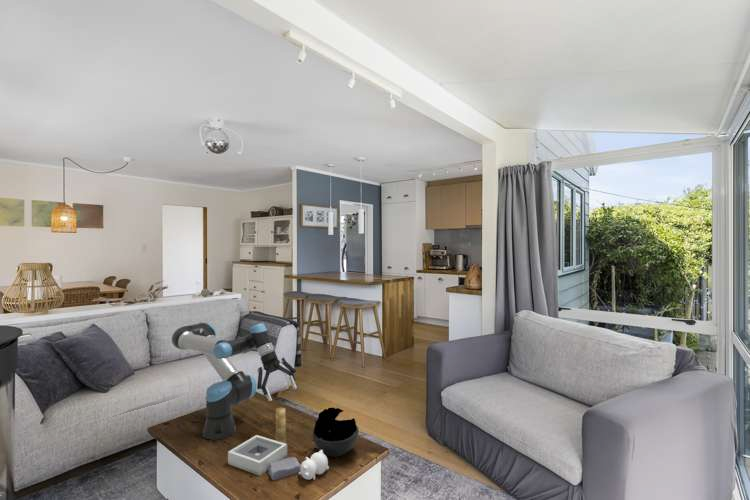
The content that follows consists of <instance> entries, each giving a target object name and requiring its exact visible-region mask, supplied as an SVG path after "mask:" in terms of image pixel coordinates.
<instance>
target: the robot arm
mask: <svg viewBox="0 0 750 500" xmlns="http://www.w3.org/2000/svg"><path fill="white" fill-rule="evenodd" d="M216 330H217V329H216V327H215V326H214V325H213V324H212V323H210V322H199V323H195V324H190V325H184V326H180V327H179V328H177V329H175V331H174V332H173V333H172V335H171V342H172V344H173V346H174V347H175V349H180V350H183V351H187V350H193V351H197V352H201V353H202V354H203V355H204V356H205V358H206V359H207V361H208V362H209V363H210V365H211V366H212V368H213V369H214V370H215V372H216V373H217V374H218V376H219V377H220V378H221V381H218V382H214V383H212V384H211V385H210V386H209V387H208V388H207V389H206V393H205V401H206V402H205V403H206V404H205V405H206V407H205V409H206V410H205V411H206V414H205V416H206V419H205V422H204V426H203V428H202V438H203V437H204V438H203V439H205V438H206V439H205V440H207V439H210V440H209V441H216V440H222V439H225V438H226V439H227V438H228V437H230V436H232V435H234V434H235V432H236V430H237V425H236V421H235V419H234V416H233V407H234V406H236V405H238V404H241V403H243V402H245V401H249V399H252V398H253V397H254V396H255V395H256V393H257V390H262V393H263V396H266V398H267V401H268V402H271V401H273V399H272V396H271V394H270V391H269V388H268V386H267V383H268V379H269V376H270V374H272V373H273V372H276V371H280V372H282V373H284V374H286V375H287V376H288V379H289V381H290V384H291V387H292V389H293V390H295V389H297V388H298V387H297V385H296V378H295V373H296V372H297V369H295V368H294V367H293V366H292V365H291V364H289V362H287V360H286V359H285V357H281V358H280V359H279V358H278V355H277V354H276V353H277V352H276V351H275V349H274V346H273V343H272V341H271V338H270V335H269V332H268V329H267V327H266V325H265V324H264V323H257V324H254V325H253V326H251V327H250V328H249V332H250V333H249V334H247V335H245V336H243V337H242V336H241V337H239V338H235V339H230V340H225V339H220V338H217V331H216ZM255 348H256V350H257V353H258V355H259V357H260V361H261V364H262V367H261V366H260V367H258V368H257V375H258V377H257V381H256V379H255V377H254V376H253V375H251V374H245V373H244V371H243V370H238V369H237V367H236V366H235V364H234V363H233V362H232V361H231V359H230V358H231V357H234V356H237V355H239V354H243V355H244V354H246V353H249V352H251V351H252V350H254V349H255ZM280 363H281V364H282V365H283V366H282V365H280ZM284 366H285V367H284ZM264 371H265V374H264V378H263V372H264Z"/></svg>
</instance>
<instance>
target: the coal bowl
mask: <svg viewBox="0 0 750 500" xmlns="http://www.w3.org/2000/svg"><path fill="white" fill-rule="evenodd" d="M342 412H344V410H343V409H341V408H339V407H338V408H335V407H327V408H324V409H323V410H322V411H320V412H319V413H318V416H317V420H316V421H315V422H314V423H315V425H314V429H312V438H313V439H312V440H313V442H314V445H315V446H316V448H317V449H318V450H319V451H320V450H323V454H324V455H325V456H328V457H334V458H335V457H341V456H343V455H345V454H347V453H348V452H350V450H351V449H353V448H354V446H355V445H356V444H357V443H356V442H357V440H358V437H359V432H360V431H359V426H358V425H357V423H356V422H357V421H356V419H355V418H354V417H353V418H352V419H342V420H341V419H337V418H338V416H339V415H340V413H341V414H342Z"/></svg>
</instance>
